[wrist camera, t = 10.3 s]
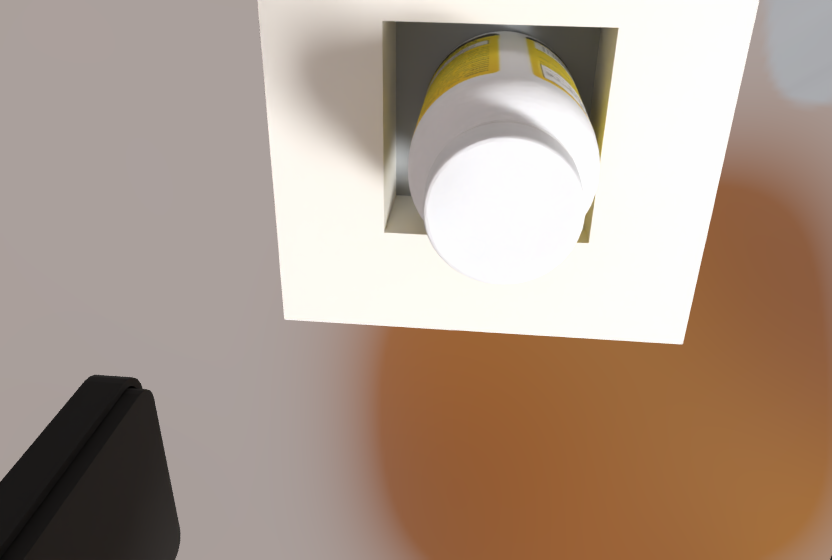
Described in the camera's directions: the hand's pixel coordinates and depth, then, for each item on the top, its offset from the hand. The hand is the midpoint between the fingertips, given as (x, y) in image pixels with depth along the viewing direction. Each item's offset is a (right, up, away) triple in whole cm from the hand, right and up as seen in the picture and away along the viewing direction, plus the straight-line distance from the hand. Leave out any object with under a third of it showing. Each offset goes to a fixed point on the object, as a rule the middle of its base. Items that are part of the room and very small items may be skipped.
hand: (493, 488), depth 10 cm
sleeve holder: (+2, +9, +18) cm, 20 cm away
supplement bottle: (+2, +9, +17) cm, 19 cm away
